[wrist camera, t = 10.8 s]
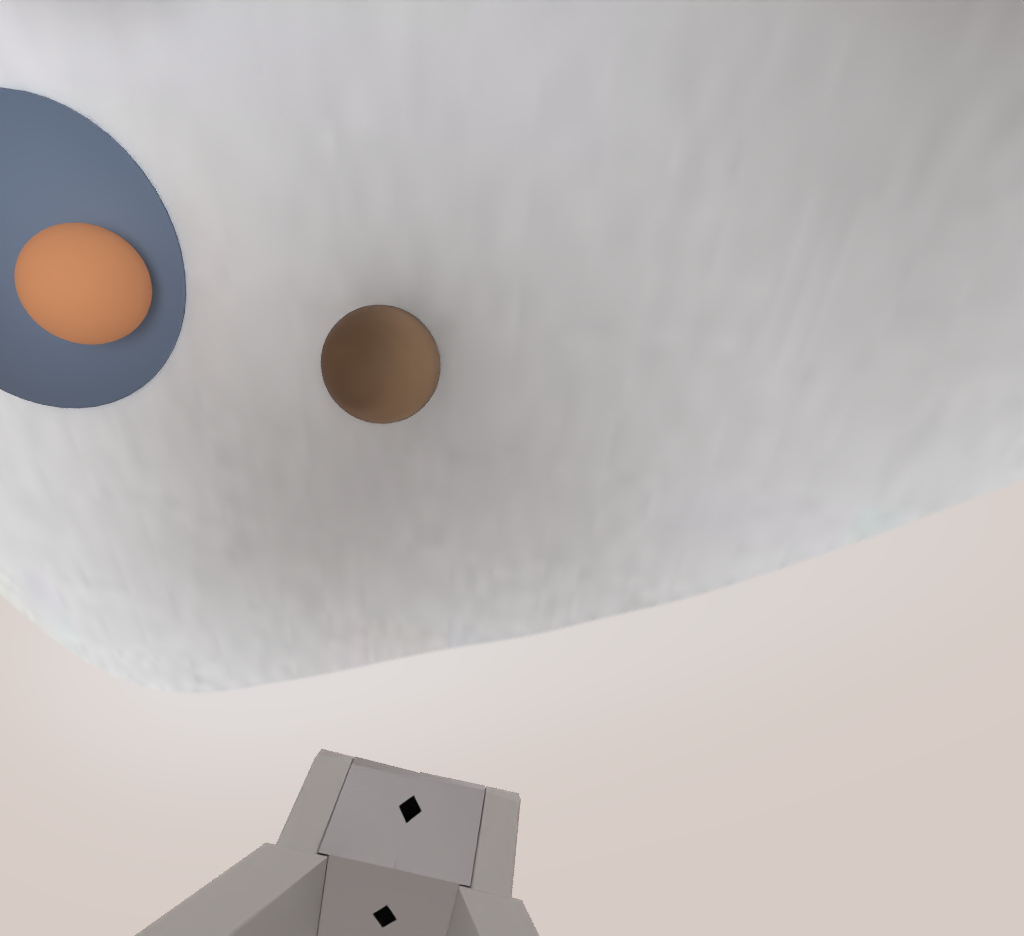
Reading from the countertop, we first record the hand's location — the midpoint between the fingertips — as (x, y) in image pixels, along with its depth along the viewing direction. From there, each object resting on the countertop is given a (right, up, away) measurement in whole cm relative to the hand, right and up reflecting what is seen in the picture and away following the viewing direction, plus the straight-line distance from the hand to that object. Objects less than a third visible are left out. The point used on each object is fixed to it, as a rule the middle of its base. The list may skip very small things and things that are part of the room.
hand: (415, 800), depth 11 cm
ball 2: (-4, +9, +20) cm, 22 cm away
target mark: (-20, +14, +22) cm, 33 cm away
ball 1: (-17, +13, +20) cm, 29 cm away
